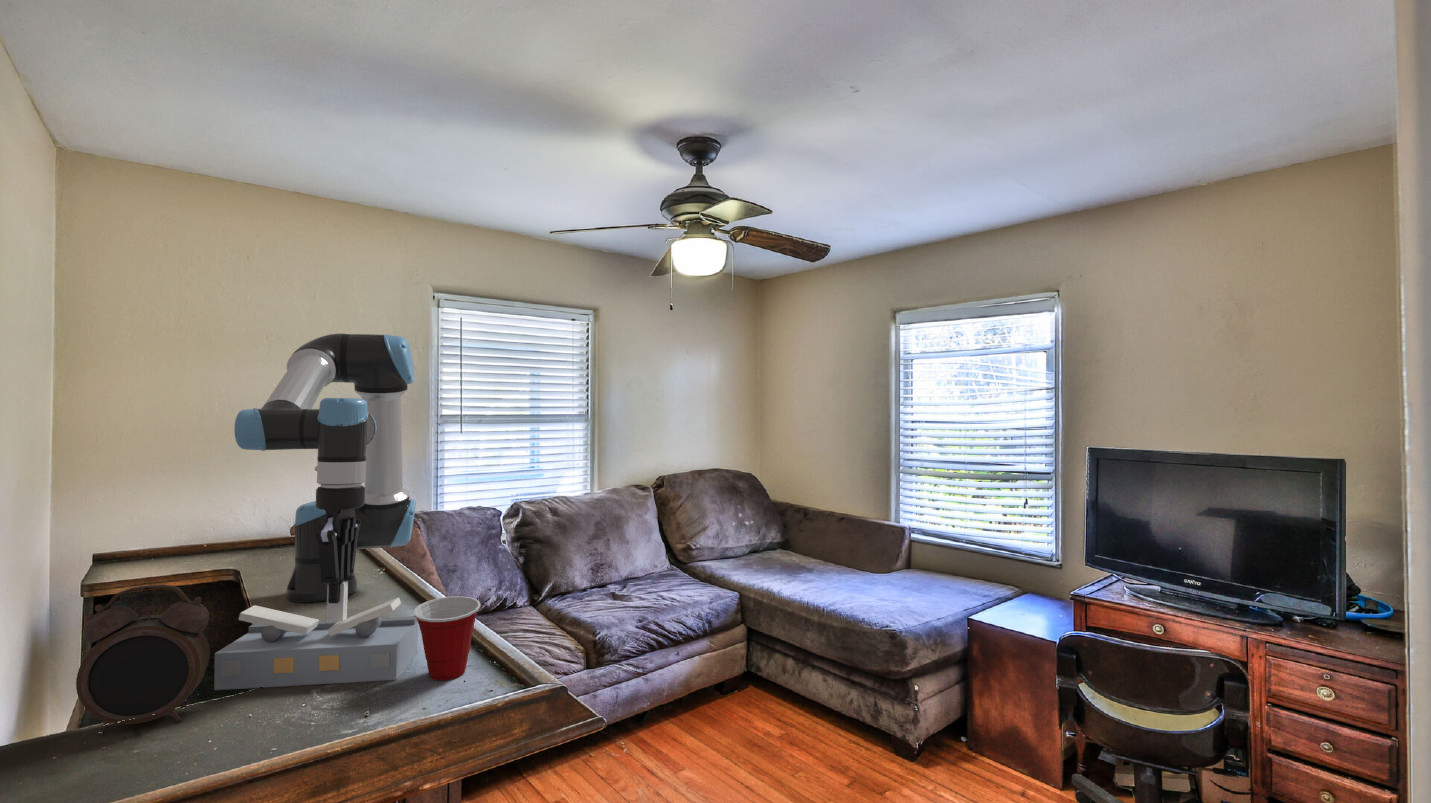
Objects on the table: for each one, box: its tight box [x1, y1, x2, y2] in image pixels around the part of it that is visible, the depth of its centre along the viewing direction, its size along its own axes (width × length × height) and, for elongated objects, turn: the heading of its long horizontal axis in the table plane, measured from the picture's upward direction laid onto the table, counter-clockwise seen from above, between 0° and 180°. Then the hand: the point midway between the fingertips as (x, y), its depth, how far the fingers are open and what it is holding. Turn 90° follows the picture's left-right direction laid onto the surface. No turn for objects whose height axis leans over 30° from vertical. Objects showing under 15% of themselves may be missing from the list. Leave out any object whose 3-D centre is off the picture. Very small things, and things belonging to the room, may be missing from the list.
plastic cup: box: [413, 595, 481, 681], centre depth 114 cm, size 11×11×12 cm
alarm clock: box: [75, 584, 211, 733], centre depth 96 cm, size 15×7×20 cm, turn 117°
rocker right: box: [327, 597, 402, 637], centre depth 116 cm, size 4×11×4 cm, turn 99°
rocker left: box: [238, 604, 320, 642], centre depth 114 cm, size 4×11×4 cm, turn 99°
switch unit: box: [213, 615, 419, 691], centre depth 115 cm, size 12×28×7 cm, turn 99°
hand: (336, 619), depth 115 cm, fingers closed
